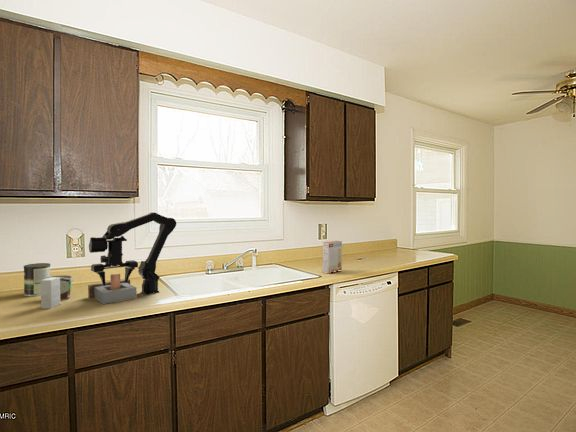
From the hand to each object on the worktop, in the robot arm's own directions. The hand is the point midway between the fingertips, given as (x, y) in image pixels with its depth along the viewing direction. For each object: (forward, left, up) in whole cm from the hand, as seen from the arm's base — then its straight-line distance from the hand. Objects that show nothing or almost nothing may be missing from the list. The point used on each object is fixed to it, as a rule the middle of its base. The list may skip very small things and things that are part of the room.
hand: (115, 284), depth 151 cm
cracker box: (-127, +30, -7) cm, 131 cm away
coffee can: (+25, -33, -7) cm, 42 cm away
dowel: (0, 0, -6) cm, 7 cm away
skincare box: (+24, -4, -7) cm, 25 cm away
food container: (+18, -17, -7) cm, 26 cm away
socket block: (0, 0, -6) cm, 7 cm away
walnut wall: (0, -8, -6) cm, 10 cm away
